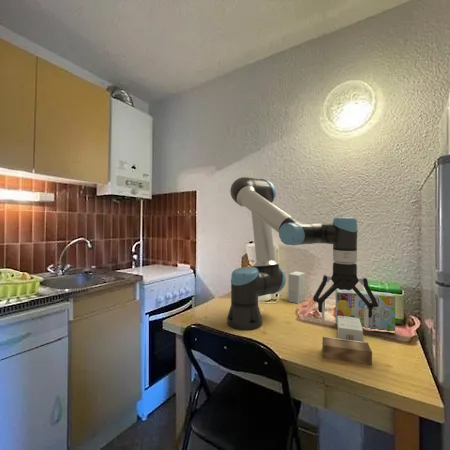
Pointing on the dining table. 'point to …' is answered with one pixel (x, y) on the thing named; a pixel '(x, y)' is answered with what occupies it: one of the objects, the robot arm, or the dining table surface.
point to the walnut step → (347, 350)
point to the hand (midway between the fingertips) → (344, 324)
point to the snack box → (354, 305)
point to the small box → (349, 328)
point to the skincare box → (296, 287)
